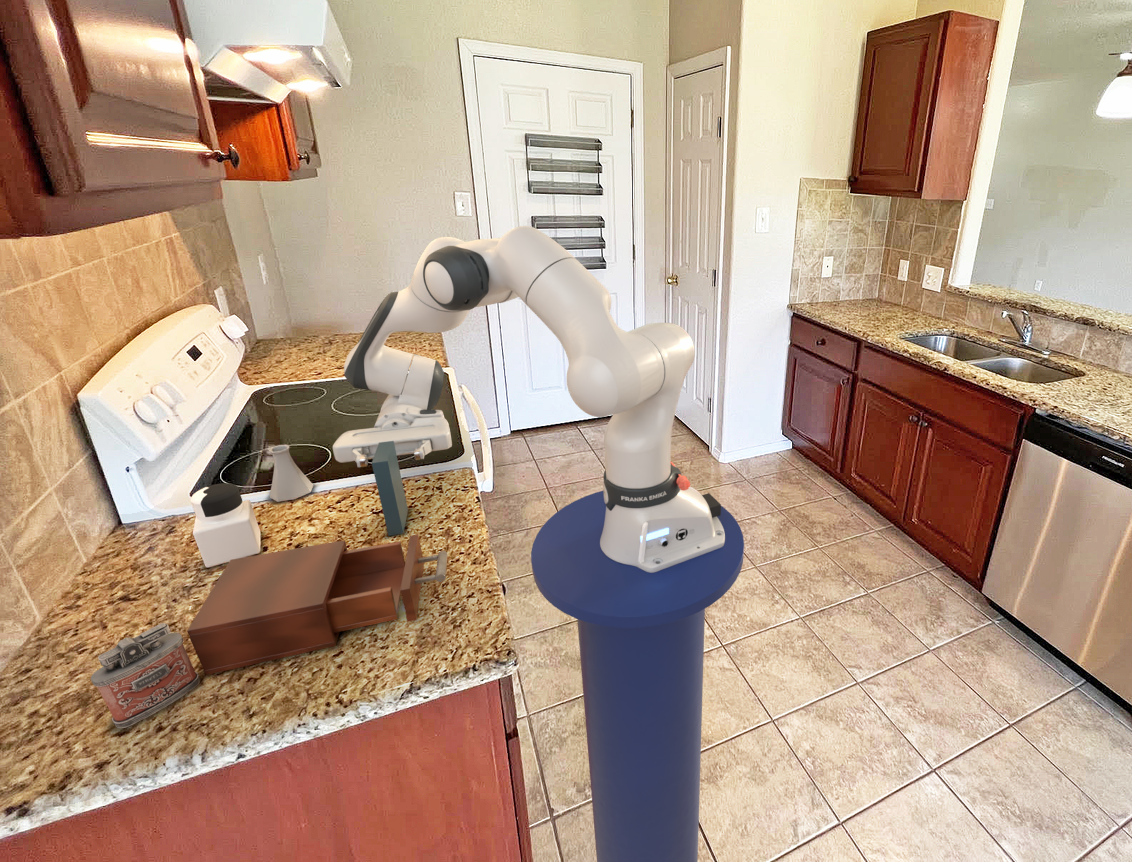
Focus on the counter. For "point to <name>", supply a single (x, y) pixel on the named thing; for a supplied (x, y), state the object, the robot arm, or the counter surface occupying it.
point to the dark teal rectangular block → (390, 487)
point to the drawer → (379, 584)
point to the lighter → (144, 675)
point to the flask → (287, 476)
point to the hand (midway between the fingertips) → (390, 459)
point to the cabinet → (267, 608)
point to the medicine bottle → (224, 524)
